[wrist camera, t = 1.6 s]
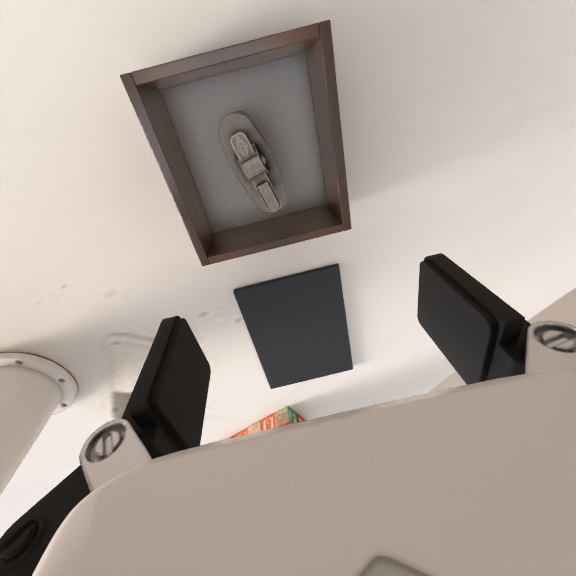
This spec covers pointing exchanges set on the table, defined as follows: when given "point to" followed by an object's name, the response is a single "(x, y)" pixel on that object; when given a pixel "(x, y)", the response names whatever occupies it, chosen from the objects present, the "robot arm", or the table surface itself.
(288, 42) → the walnut box
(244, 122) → the lighter
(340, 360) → the charcoal mat
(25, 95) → the table surface
